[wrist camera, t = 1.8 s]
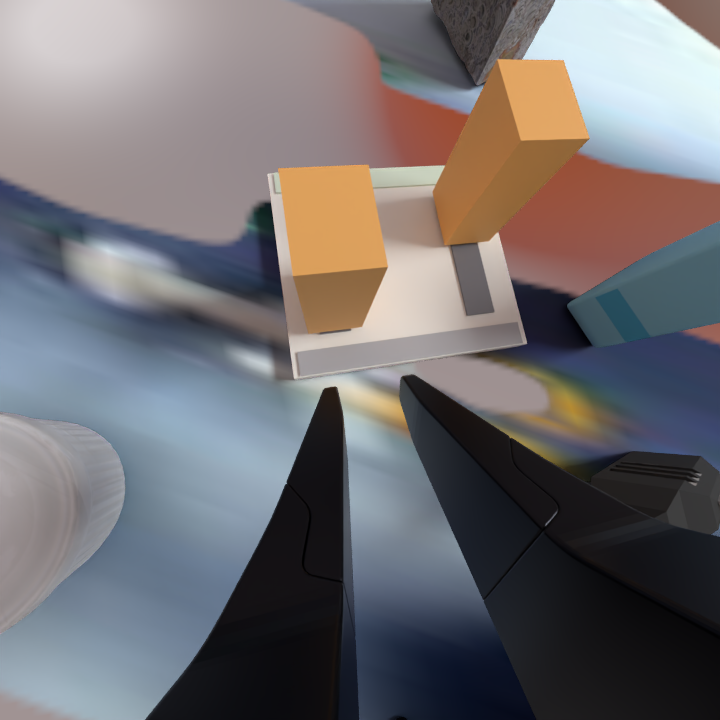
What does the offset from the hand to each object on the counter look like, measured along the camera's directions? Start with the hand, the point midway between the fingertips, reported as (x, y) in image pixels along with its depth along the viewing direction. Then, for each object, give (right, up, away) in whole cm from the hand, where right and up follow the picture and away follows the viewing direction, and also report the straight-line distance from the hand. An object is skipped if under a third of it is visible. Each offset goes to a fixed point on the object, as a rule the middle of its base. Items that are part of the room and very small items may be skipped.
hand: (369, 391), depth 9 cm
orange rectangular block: (-3, +6, +12) cm, 13 cm away
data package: (+24, +6, +17) cm, 30 cm away
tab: (+8, +13, +14) cm, 21 cm away
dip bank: (+3, +9, +15) cm, 18 cm away
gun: (+19, -9, +14) cm, 25 cm away
